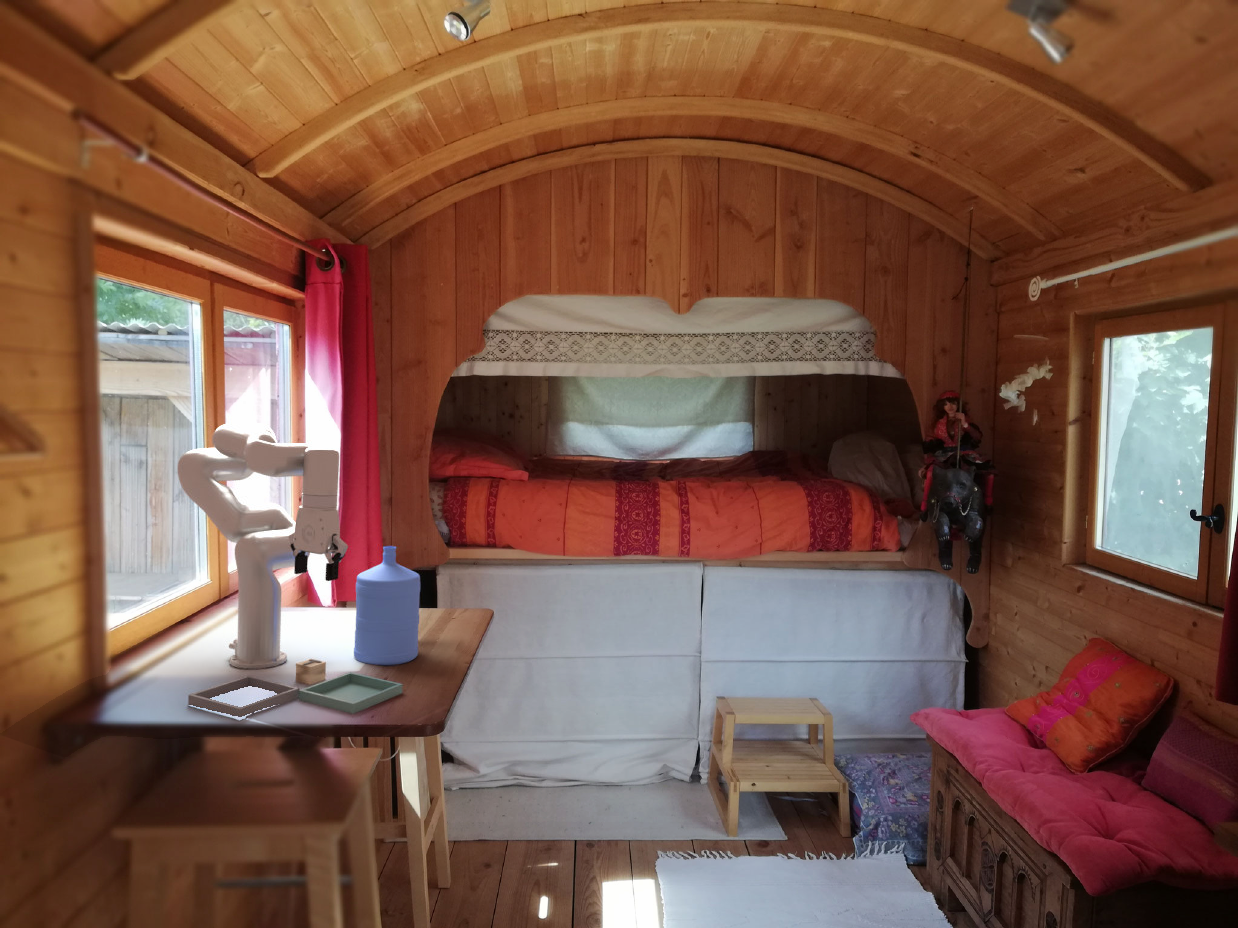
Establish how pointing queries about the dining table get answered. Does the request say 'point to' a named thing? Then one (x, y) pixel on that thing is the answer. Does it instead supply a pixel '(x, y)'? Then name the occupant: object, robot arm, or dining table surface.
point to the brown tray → (203, 697)
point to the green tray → (350, 692)
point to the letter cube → (310, 671)
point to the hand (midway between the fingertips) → (316, 576)
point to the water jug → (387, 613)
